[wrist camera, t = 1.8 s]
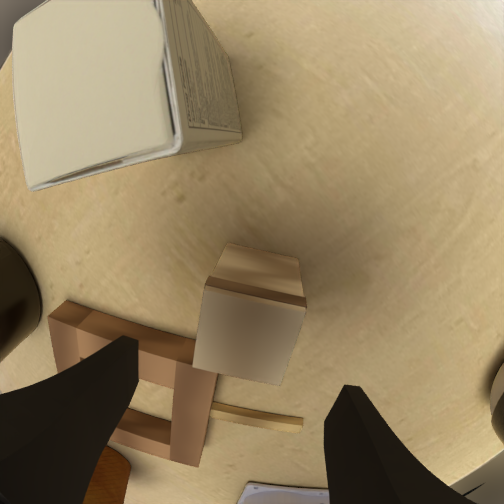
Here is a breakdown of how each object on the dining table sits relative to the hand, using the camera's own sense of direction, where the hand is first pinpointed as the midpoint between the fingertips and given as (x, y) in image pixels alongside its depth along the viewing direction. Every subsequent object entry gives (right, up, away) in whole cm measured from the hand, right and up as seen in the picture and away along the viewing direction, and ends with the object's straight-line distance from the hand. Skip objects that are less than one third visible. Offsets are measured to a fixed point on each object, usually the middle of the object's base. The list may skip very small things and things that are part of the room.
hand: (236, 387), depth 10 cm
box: (-2, +12, +5) cm, 14 cm away
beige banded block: (+1, +3, +8) cm, 9 cm away
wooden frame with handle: (-5, -6, +12) cm, 15 cm away
